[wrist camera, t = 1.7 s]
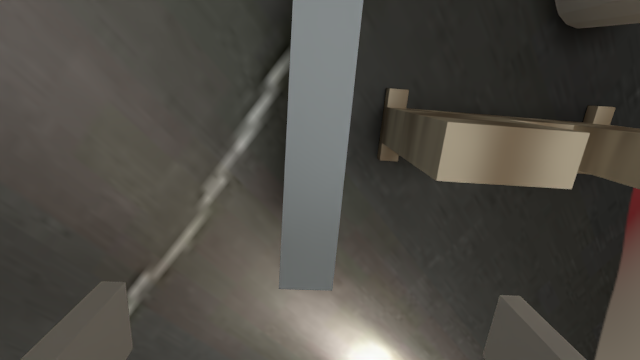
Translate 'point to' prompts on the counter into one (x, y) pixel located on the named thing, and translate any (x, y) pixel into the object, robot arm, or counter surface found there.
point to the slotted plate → (317, 138)
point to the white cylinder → (598, 12)
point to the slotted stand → (508, 146)
